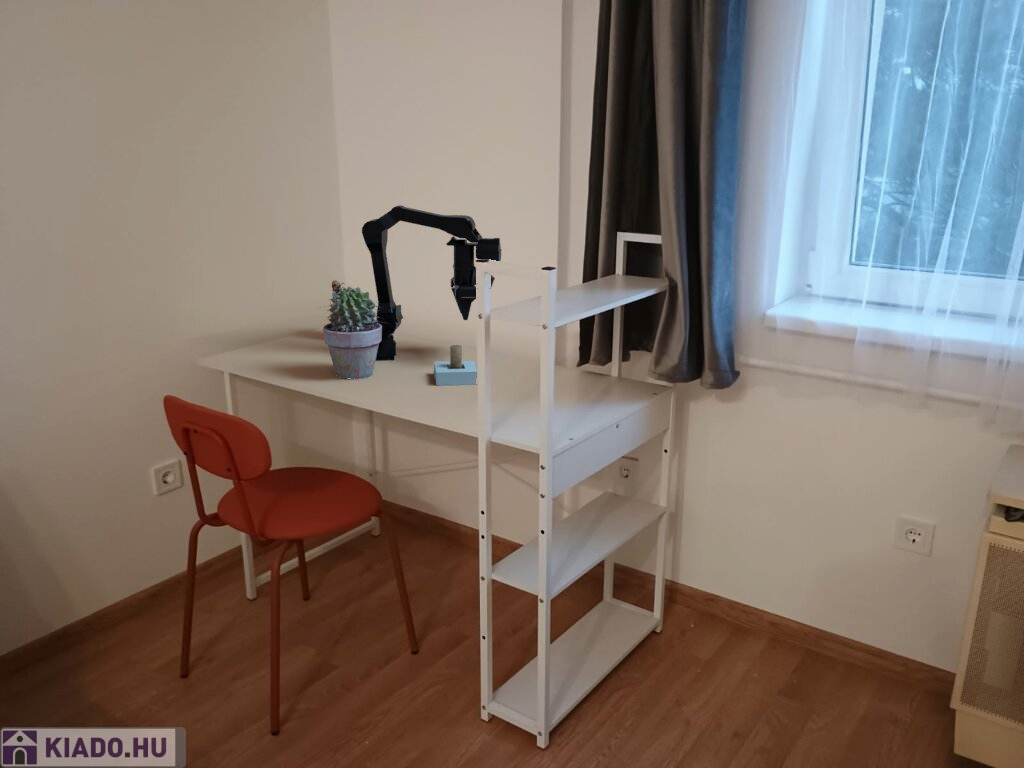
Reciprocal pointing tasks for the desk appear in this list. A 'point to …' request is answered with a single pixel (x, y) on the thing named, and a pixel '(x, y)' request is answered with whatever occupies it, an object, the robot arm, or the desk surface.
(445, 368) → the socket block
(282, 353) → the desk surface
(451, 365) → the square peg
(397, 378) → the desk surface
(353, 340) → the potted plant
